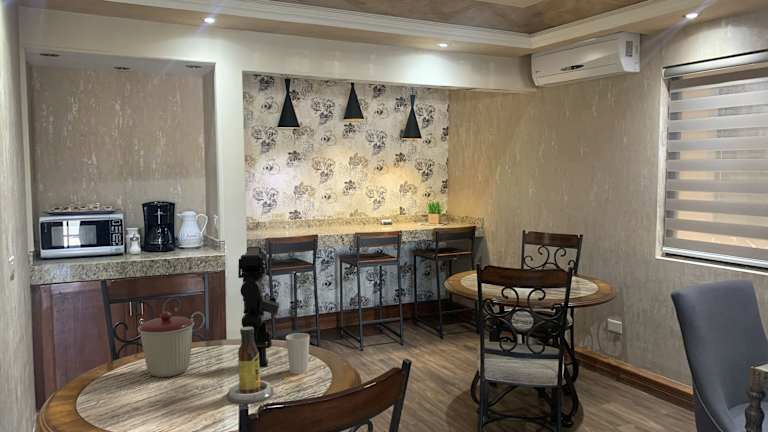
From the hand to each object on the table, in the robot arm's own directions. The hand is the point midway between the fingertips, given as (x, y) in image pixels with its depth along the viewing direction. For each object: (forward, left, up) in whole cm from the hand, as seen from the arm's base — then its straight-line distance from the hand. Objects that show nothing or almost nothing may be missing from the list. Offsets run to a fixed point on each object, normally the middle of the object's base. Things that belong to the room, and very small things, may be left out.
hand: (254, 339), depth 195 cm
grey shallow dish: (+14, -1, -13) cm, 19 cm away
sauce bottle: (+14, -1, -12) cm, 19 cm away
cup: (-4, +14, -13) cm, 20 cm away
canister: (-13, -30, -13) cm, 35 cm away
